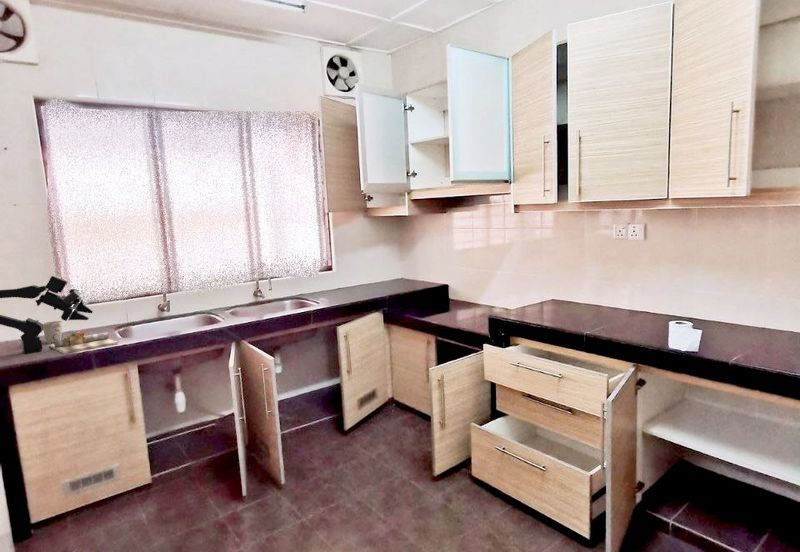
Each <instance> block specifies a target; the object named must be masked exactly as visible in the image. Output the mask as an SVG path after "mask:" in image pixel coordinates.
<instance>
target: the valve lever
mask: <svg viewBox="0 0 800 552" xmlns="http://www.w3.org/2000/svg"><path fill="white" fill-rule="evenodd" d="M70 335H76V336H78V337H80V336H84V335H85V332H84V331H78V330H72V331H71V332H70Z"/></svg>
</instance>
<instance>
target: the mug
mask: <svg viewBox="0 0 800 552" xmlns="http://www.w3.org/2000/svg"><path fill="white" fill-rule="evenodd" d="M41 323H42V322H41ZM42 325H43V327H44V328H43V331H42V332H43V334H44V338H45V342H46V344H51V343H50V342H54V341H57V340H62V334H63V333H62V331H63V320H62V321H61V320H57V321H56V320H54V321H53V320H52V321H48V322H43V323H42Z"/></svg>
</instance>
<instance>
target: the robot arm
mask: <svg viewBox="0 0 800 552" xmlns="http://www.w3.org/2000/svg"><path fill="white" fill-rule="evenodd" d="M66 285H68V280H65V279H63V278H61V277H60V278H59V277H57V276H54V275H52V276H51V277H50V278H49V280H48V282H47V283H46V285H41V286H38V285H35V284H32V285H29V286H28V285H27V286H22V287H19V288H9V289H0V299H7V298H8V299H9V298H20V299H35V303H36V306H37V307H39V306H40V305H41V304H42V303H43V304H44V305H46V306H49V307H51V308H53V310H55V311H56V310H59V311H62V314H61V316H60V319H61V320H62V321H66V322H67V321H77V320H78V321H88V320H89V317H88V316H87V315H84V314H83V313H87V314H93V312H94V310H92V309H91V308H89V307H88V306H87V305H86V304H85V303H84V300H83V298H82V297H81V292H80V291H79V289H77V288H71V289H70V290H69V291H68V292H69V294H66V295H61V296H60V295H58V294H59V293H62V292H63V290H64V288H65V287H66ZM44 292H45V293H44ZM42 293H44V294H42ZM38 297H39V298H38ZM36 298H38V299H36ZM0 326H5V327H9V328H13V329H16V330H18V331H19V332H22V334H21V335H20V338H21V347H22V350H21V353H23V354H24V355H25V354H26V355H27V354H32V353H37V352H42V351H43V345H42V344H43V343H42V340H41V339H40V337H39V335H40V334H41V333H42V332H44V331H43V328H44V327H43V325H42V322H40V320H37V319H32V318H30V317H28V318H26V319H25V320H21V319H19V318H18V319H17V318H15V317H11V316H10V317H9V316H7V315H2V314H0Z"/></svg>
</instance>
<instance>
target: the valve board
mask: <svg viewBox="0 0 800 552" xmlns="http://www.w3.org/2000/svg"><path fill="white" fill-rule="evenodd" d="M118 342H119V341H116V340H113V339H110V338H109V333H108V331H106V332H102V333H101V332H100V333H94V334H90V335H85V334H84V336H80V337H78V336H76V335H71V334H68V335H66V337H64V338H63V339H61V340H57V341H54V343H52V344H49V348H50V349H54V350H55V351H58V352H60V353H61V354H69V353H70V354H71V353H75V352H81V351H87V350H91V349H98V348H103V347H102V346H104V347H108V346H107V345H110V346H113V345H112V344H115V345H118V344H119V343H118ZM117 343H118V344H117Z"/></svg>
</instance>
